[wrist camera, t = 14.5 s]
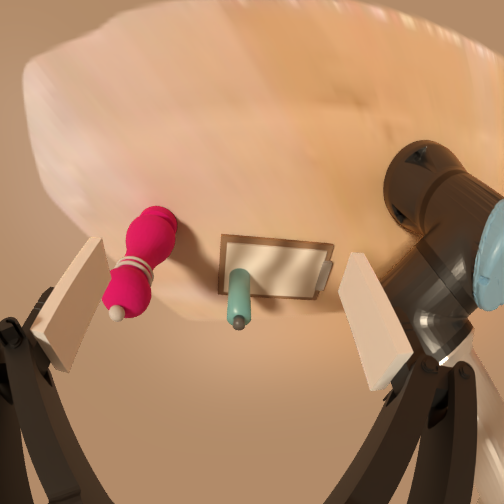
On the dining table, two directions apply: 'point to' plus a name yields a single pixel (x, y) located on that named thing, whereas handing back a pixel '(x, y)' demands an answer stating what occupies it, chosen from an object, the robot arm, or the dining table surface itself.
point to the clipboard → (276, 266)
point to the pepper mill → (140, 263)
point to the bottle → (239, 299)
